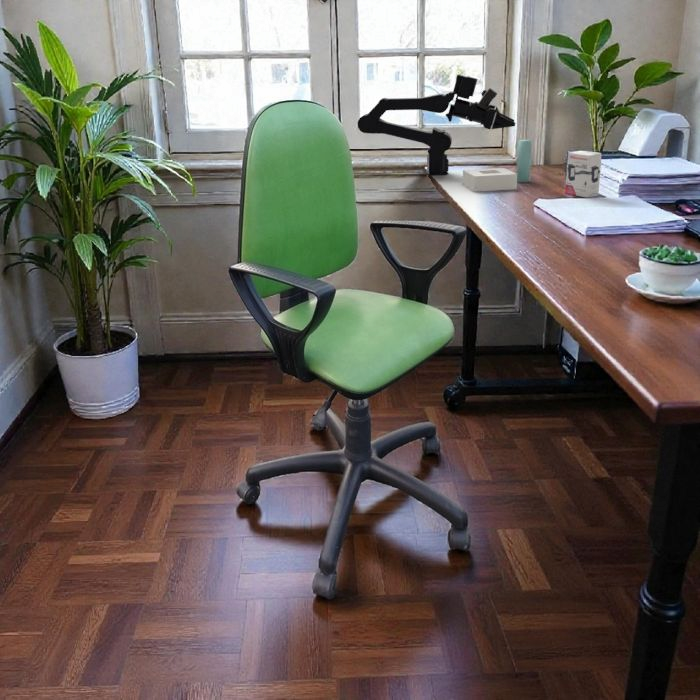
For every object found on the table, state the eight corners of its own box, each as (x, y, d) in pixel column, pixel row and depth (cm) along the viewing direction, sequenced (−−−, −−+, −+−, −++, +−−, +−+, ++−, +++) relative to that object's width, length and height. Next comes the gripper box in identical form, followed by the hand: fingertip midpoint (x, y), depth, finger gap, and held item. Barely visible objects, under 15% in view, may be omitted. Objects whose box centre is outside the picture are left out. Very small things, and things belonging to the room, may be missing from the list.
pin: (519, 182, 237) (521, 141, 233) (514, 180, 241) (516, 140, 236) (531, 182, 238) (533, 141, 233) (527, 180, 241) (529, 139, 237)
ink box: (564, 193, 219) (567, 151, 214) (576, 191, 221) (579, 150, 217) (586, 197, 212) (590, 154, 207) (599, 195, 214) (603, 152, 210)
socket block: (474, 191, 226) (474, 176, 224) (462, 184, 238) (462, 169, 236) (516, 189, 227) (517, 174, 226) (502, 182, 239) (503, 167, 237)
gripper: (475, 87, 238) (524, 100, 237) (475, 84, 255) (521, 96, 254) (465, 123, 243) (512, 135, 242) (466, 117, 260) (510, 129, 259)
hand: (514, 123), depth 249 cm, fingers open, 9 cm apart
